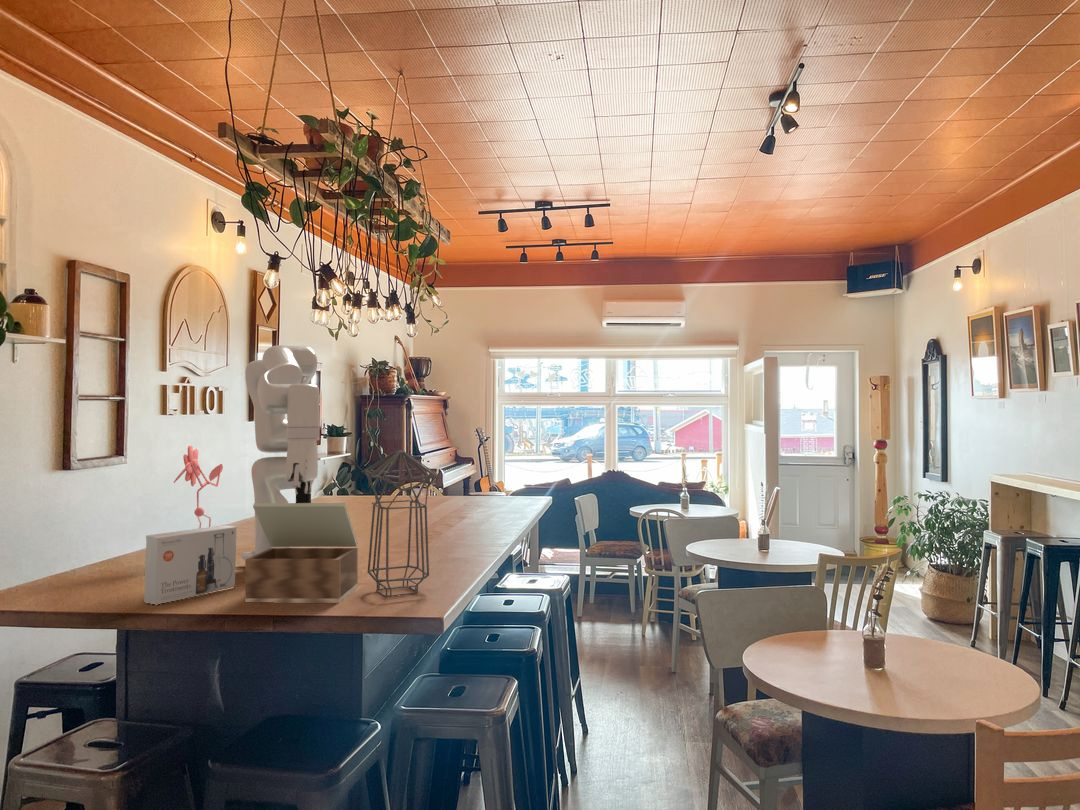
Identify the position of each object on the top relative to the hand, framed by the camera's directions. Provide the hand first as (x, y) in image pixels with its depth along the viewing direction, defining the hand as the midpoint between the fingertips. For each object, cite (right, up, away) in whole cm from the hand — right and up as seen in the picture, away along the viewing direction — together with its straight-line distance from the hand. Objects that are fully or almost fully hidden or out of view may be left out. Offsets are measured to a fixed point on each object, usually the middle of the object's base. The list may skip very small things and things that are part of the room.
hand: (303, 509), depth 180 cm
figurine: (-48, -22, +43) cm, 68 cm away
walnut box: (0, -21, 0) cm, 21 cm away
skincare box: (-27, -21, 0) cm, 34 cm away
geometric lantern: (+23, -21, +2) cm, 31 cm away
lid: (0, -5, +2) cm, 5 cm away
